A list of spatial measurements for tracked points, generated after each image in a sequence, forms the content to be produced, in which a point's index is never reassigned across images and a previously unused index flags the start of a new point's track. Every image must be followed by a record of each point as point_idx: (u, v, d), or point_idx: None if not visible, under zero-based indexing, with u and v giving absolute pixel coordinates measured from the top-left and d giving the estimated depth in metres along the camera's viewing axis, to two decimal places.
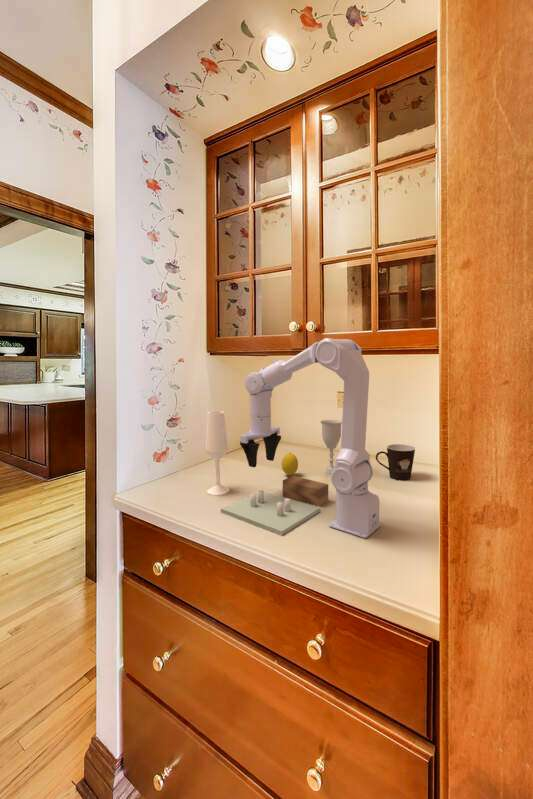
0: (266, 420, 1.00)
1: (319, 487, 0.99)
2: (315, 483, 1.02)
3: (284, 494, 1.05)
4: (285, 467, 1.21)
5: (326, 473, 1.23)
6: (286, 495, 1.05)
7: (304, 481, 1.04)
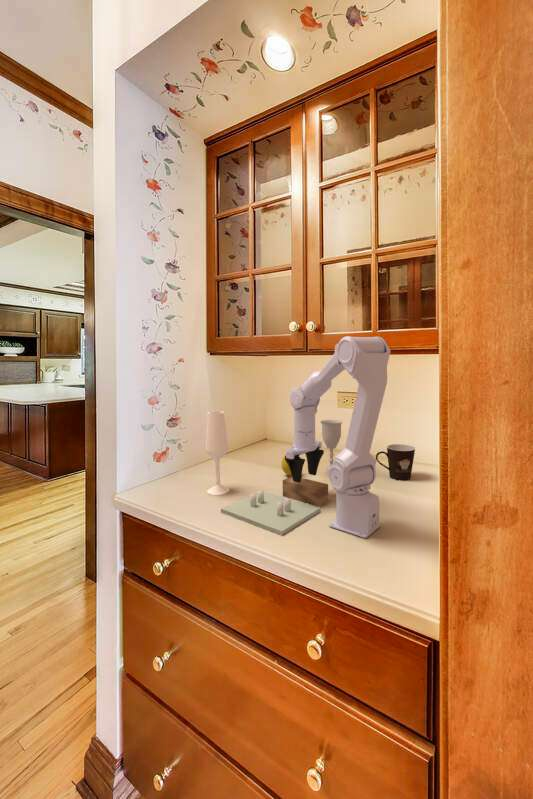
0: (311, 435, 0.99)
1: (319, 487, 0.99)
2: (315, 483, 1.02)
3: (284, 494, 1.05)
4: (285, 467, 1.21)
5: (326, 473, 1.23)
6: (286, 495, 1.05)
7: (304, 481, 1.04)
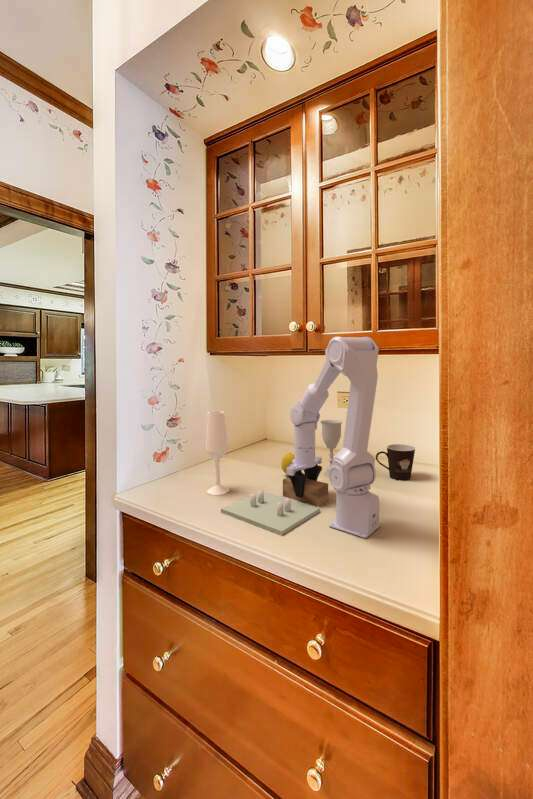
0: (311, 452, 1.00)
1: (319, 486, 0.99)
2: (315, 482, 1.02)
3: (284, 493, 1.05)
4: (285, 467, 1.21)
5: (326, 473, 1.23)
6: (286, 494, 1.05)
7: None
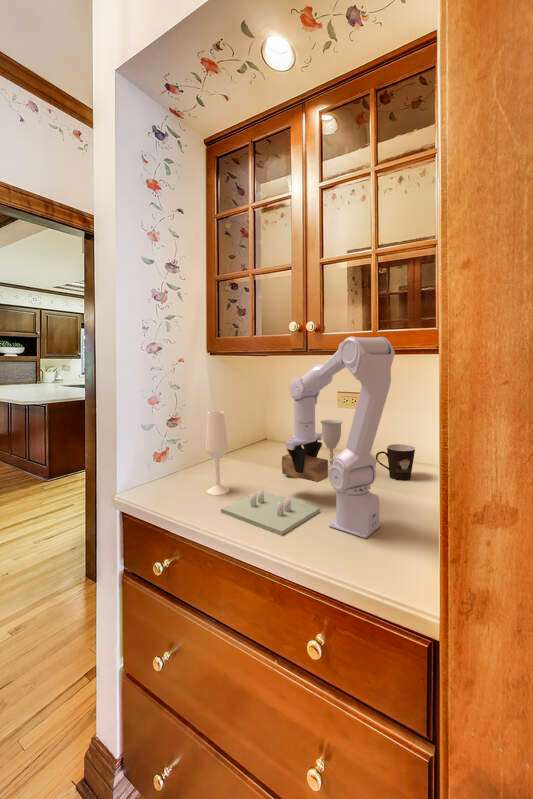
0: (311, 426, 0.99)
1: (319, 462, 0.98)
2: (314, 458, 1.02)
3: (283, 470, 1.04)
4: None
5: None
6: (285, 471, 1.04)
7: None
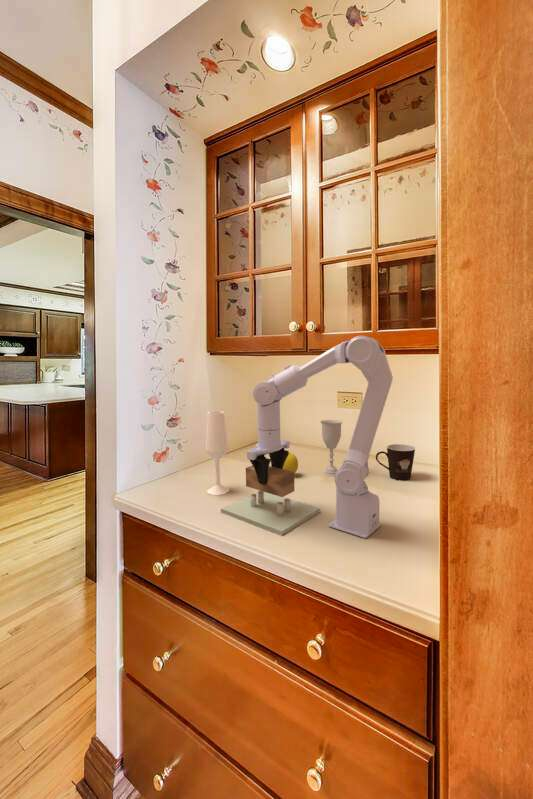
0: (275, 434, 0.90)
1: (283, 475, 0.90)
2: (280, 470, 0.93)
3: (247, 483, 0.96)
4: (285, 467, 1.21)
5: (326, 473, 1.23)
6: (249, 484, 0.96)
7: (269, 469, 0.94)
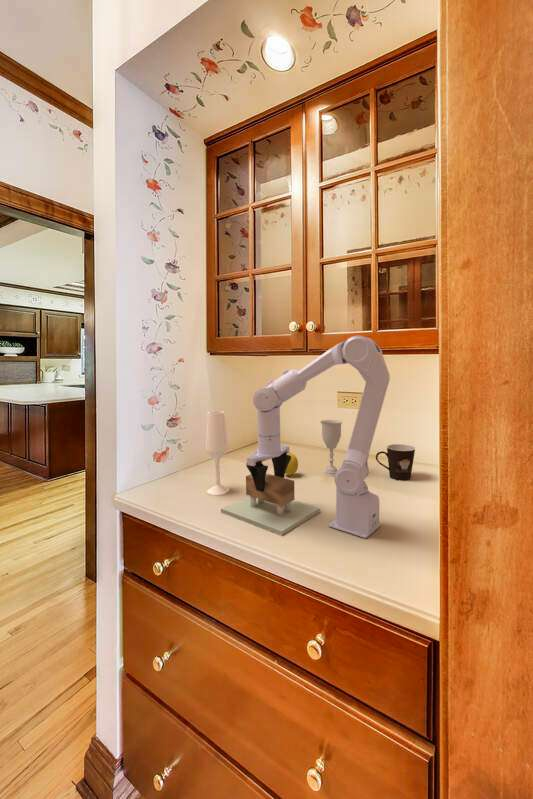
0: (275, 440, 0.91)
1: (283, 484, 0.90)
2: (280, 479, 0.93)
3: (247, 491, 0.96)
4: None
5: (326, 473, 1.23)
6: (249, 492, 0.96)
7: (269, 477, 0.95)
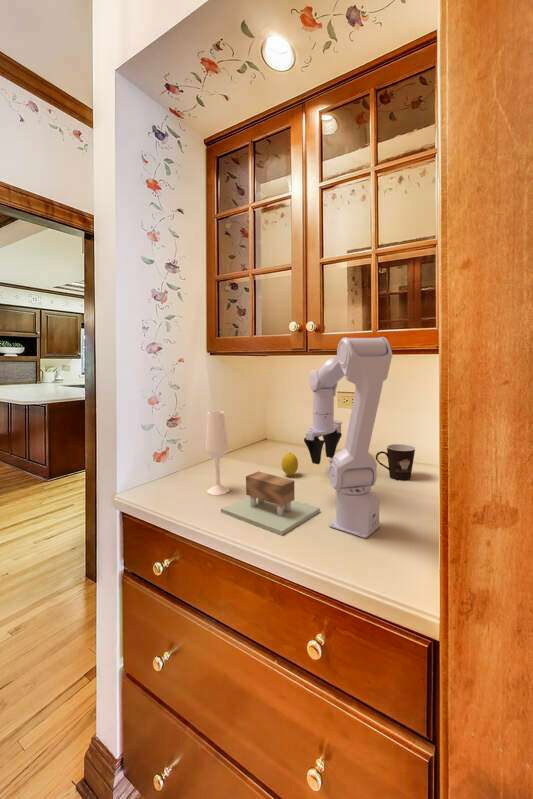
0: (330, 417, 1.00)
1: (283, 484, 0.90)
2: (280, 479, 0.93)
3: (247, 491, 0.96)
4: (285, 467, 1.21)
5: (326, 473, 1.23)
6: (249, 492, 0.96)
7: (269, 477, 0.95)
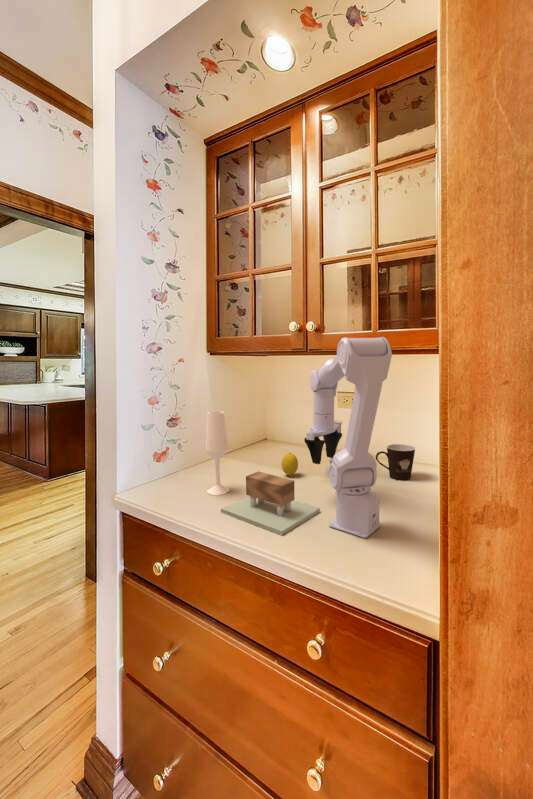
0: (330, 417, 1.01)
1: (283, 484, 0.90)
2: (280, 479, 0.93)
3: (247, 491, 0.96)
4: (285, 467, 1.21)
5: (326, 473, 1.23)
6: (249, 492, 0.96)
7: (269, 477, 0.95)
